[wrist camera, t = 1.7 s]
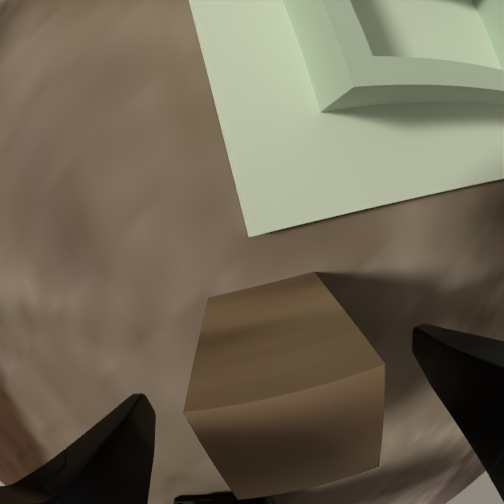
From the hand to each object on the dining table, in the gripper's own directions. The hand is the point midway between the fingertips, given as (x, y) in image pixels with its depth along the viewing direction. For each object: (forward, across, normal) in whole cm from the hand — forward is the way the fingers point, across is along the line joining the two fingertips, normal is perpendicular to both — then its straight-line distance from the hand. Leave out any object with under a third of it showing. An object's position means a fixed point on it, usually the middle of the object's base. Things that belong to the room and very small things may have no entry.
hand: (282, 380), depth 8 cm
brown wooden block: (+3, 0, 0) cm, 3 cm away
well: (+3, -9, -11) cm, 15 cm away
